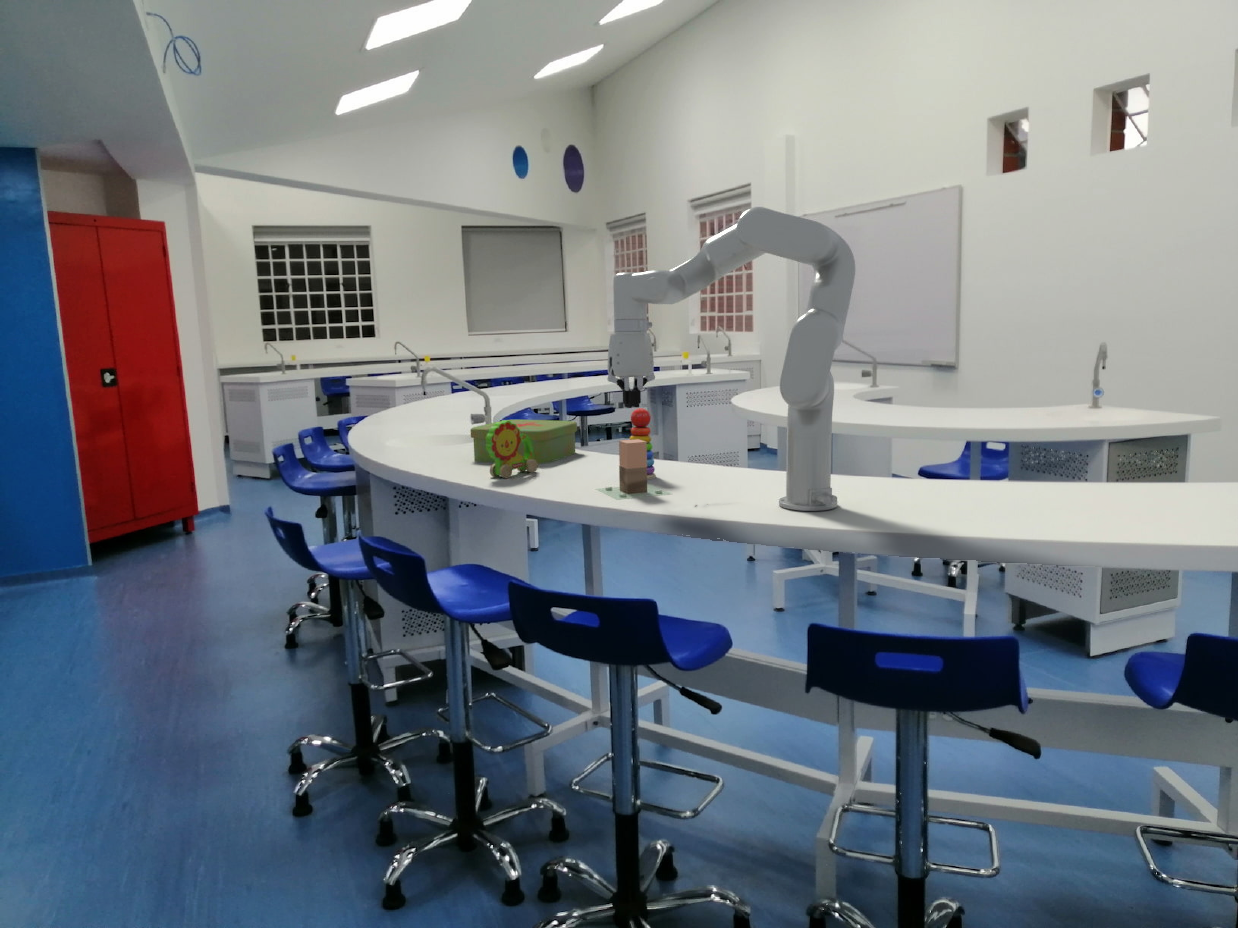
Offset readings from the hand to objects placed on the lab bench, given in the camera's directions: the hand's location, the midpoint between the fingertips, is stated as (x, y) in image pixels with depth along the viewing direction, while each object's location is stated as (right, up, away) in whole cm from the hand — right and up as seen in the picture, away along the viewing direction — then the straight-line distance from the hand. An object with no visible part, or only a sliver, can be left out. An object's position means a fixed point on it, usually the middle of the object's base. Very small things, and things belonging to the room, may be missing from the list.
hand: (631, 406), depth 206 cm
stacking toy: (+3, -18, +22) cm, 29 cm away
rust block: (0, -14, +2) cm, 14 cm away
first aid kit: (-32, -11, +68) cm, 76 cm away
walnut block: (0, -20, +3) cm, 20 cm away
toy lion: (-32, -17, +34) cm, 50 cm away
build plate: (0, -21, +3) cm, 21 cm away
